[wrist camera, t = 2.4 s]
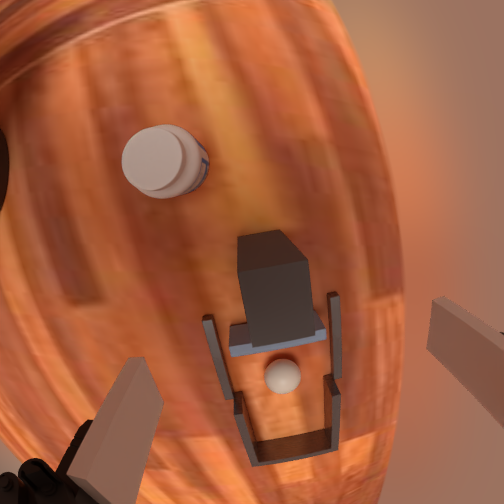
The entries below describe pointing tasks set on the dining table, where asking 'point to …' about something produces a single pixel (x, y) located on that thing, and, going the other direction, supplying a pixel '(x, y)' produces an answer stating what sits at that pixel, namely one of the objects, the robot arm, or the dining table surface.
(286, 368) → the ball
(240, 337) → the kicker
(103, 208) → the dining table surface
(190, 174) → the pill bottle
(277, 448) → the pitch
